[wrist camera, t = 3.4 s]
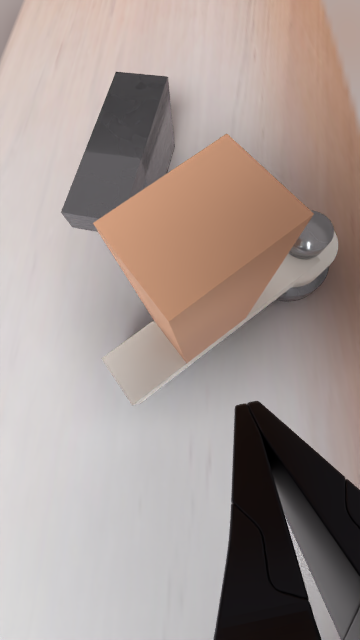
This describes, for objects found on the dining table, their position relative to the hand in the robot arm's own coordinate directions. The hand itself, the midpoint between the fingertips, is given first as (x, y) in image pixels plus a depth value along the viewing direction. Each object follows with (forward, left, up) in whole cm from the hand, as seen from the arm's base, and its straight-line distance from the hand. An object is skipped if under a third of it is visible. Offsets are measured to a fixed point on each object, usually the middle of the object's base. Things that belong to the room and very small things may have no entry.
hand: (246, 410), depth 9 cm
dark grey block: (+14, +8, -7) cm, 18 cm away
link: (+6, +1, -6) cm, 8 cm away
